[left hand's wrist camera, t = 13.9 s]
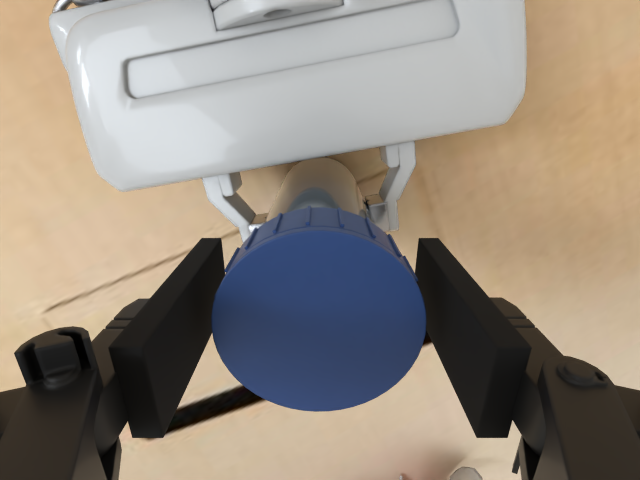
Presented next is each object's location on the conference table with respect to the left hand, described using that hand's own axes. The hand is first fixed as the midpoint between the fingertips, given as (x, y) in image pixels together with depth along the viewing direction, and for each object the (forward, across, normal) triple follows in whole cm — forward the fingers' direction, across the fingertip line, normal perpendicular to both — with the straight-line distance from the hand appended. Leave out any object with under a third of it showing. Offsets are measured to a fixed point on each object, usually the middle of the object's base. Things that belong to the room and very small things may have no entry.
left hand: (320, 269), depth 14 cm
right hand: (+6, 0, -1) cm, 6 cm away
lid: (-4, 0, 0) cm, 4 cm away
